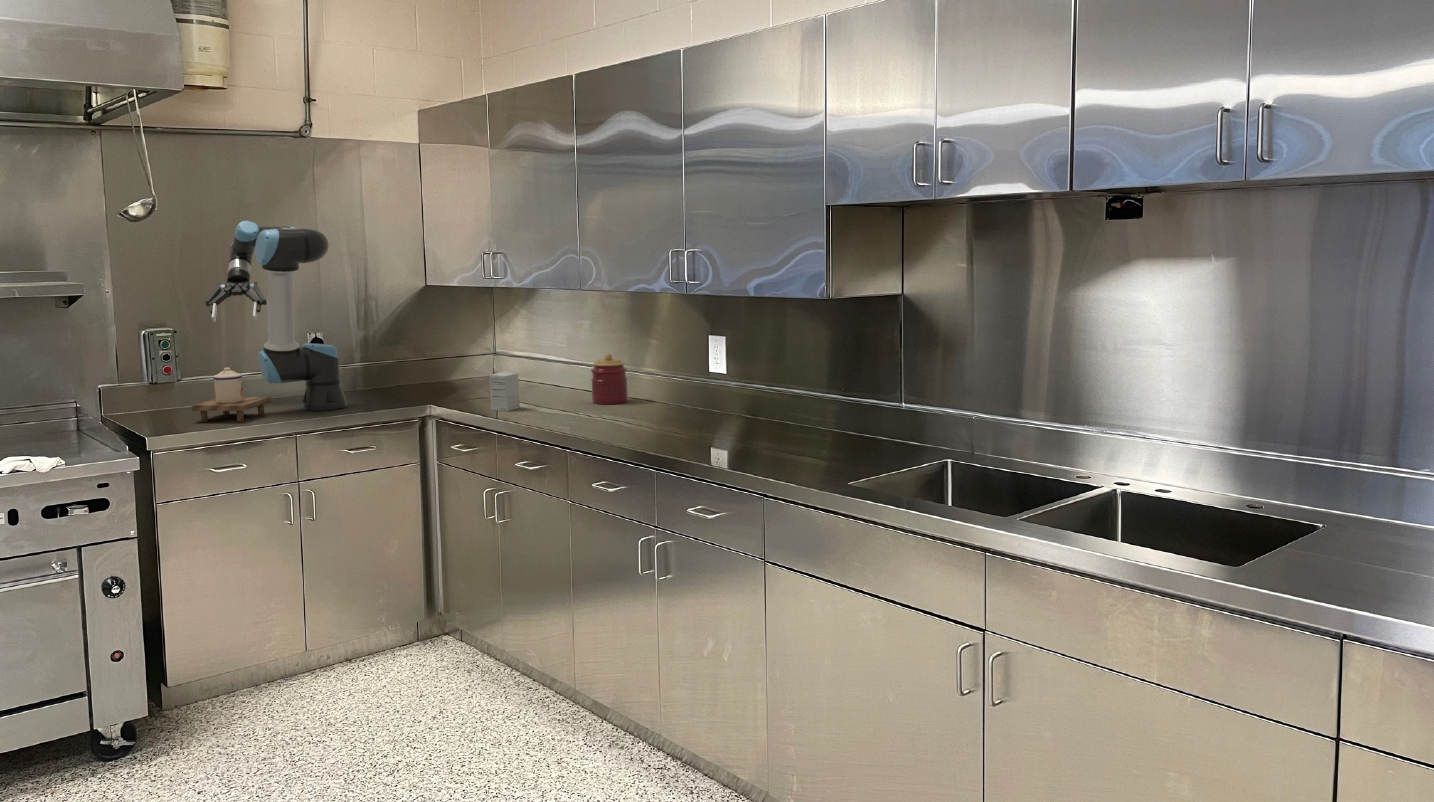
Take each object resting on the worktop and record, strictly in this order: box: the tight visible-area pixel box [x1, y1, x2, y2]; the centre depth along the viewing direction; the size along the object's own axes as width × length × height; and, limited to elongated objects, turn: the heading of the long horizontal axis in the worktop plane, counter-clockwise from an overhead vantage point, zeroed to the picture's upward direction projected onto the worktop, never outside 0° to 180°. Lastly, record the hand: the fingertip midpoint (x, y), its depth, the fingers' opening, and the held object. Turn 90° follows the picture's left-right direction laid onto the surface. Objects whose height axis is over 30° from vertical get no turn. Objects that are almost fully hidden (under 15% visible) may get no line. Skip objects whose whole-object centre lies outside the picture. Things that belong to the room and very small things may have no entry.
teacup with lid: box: [212, 367, 245, 404], centre depth 363 cm, size 12×9×12 cm
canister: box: [590, 353, 629, 405], centre depth 384 cm, size 13×13×18 cm
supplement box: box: [489, 371, 521, 412], centre depth 373 cm, size 7×7×13 cm
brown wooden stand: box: [191, 396, 272, 423], centre depth 365 cm, size 18×18×6 cm
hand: (234, 318), depth 378 cm, fingers open, 13 cm apart
